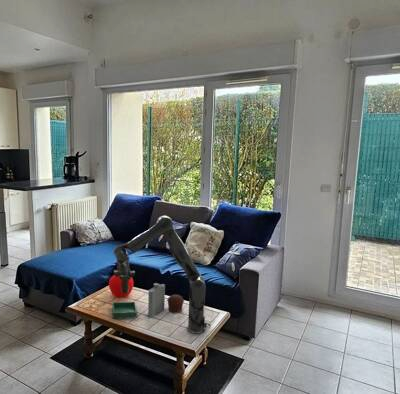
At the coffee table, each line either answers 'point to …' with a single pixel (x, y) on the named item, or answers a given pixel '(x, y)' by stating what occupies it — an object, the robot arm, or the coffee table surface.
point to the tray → (124, 310)
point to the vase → (119, 287)
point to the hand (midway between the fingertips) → (125, 278)
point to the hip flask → (156, 299)
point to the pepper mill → (124, 284)
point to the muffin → (175, 303)
